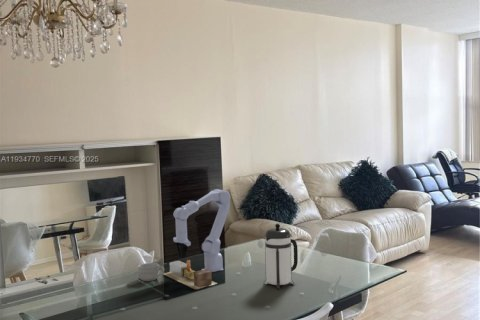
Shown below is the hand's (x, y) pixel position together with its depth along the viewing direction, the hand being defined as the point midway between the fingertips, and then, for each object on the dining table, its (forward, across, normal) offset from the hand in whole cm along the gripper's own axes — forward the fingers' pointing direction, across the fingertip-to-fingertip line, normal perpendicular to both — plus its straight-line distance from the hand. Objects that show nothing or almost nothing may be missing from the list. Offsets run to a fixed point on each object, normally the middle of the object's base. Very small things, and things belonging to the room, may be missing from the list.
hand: (182, 257), depth 250 cm
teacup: (+11, -6, -15) cm, 19 cm away
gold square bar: (+8, +1, 0) cm, 9 cm away
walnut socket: (+10, +19, 0) cm, 21 cm away
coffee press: (+11, +42, +30) cm, 53 cm away
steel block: (+10, -3, 0) cm, 10 cm away
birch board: (+10, +6, 0) cm, 12 cm away
